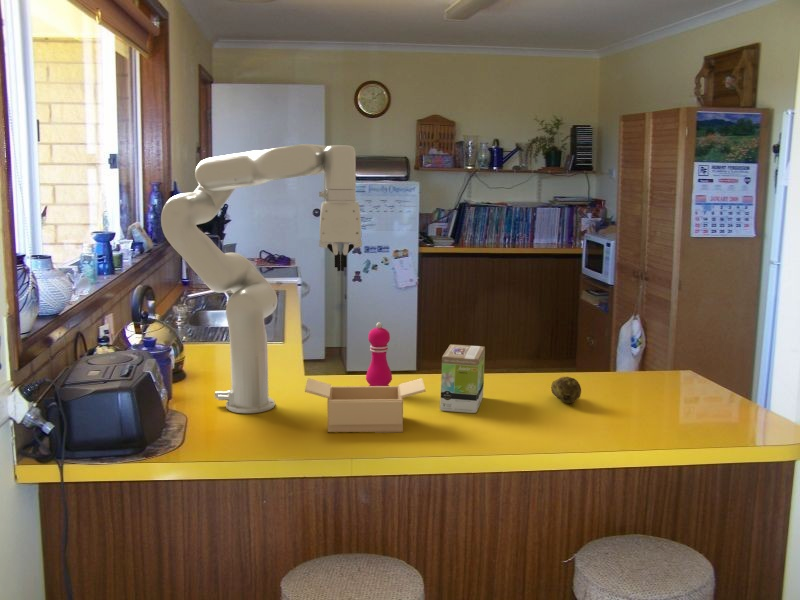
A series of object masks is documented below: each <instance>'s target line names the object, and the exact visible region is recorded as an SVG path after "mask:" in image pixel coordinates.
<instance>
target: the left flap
mask: <svg viewBox="0 0 800 600" xmlns="http://www.w3.org/2000/svg"><path fill="white" fill-rule="evenodd" d="M331 387H332V384H330V383H327V382H323V381H321V380H320V381H319V380H316V379H313V378H309V377H307V380H306V384H305V389H304V392H305V393H308V394H311V395H315V396H318V397H322V398H325V399H327V400H328V399H329V397H330V389H331Z"/></svg>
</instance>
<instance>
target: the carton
mask: <svg viewBox="0 0 800 600" xmlns="http://www.w3.org/2000/svg"><path fill="white" fill-rule="evenodd" d="M326 403H327V407H326V409H327V433H328V432H375V433H403V432H404V398H401V393H400V387H399V385H389V386H369V385H365V386H362V385H360V386H359V385H357V386H356V385H355V386H353V385H352V386H351V385H350V386H348V385H347V386H346V385H345V386H331V389H330V397H329V399H328V398H327V402H326Z"/></svg>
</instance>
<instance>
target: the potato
mask: <svg viewBox="0 0 800 600" xmlns="http://www.w3.org/2000/svg"><path fill="white" fill-rule="evenodd" d="M550 388H551V393H552V394H553V396H555V397H556V398H557V399H558V400H560V401H561V402H564V403H565V404H566V403H567V404H573V403H575V402H576V401H578V399H580V398H581V394H582V387H581V385H580V383H579V381H578V380H577V379H576V378H574V377H570V376H561V377H559V378H557V379H555V380H553V381H552V382H551V387H550Z"/></svg>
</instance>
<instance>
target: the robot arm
mask: <svg viewBox="0 0 800 600" xmlns="http://www.w3.org/2000/svg"><path fill="white" fill-rule="evenodd" d="M356 161H357V160H356V149H355V147H354V146H352V145H345V144H344V145H342V144H335V145H333V144H332V145H322V144H315V143H314V144H312V143H300V144H293V145H288V146H280V147H275V148H274V147H273V148H269V149H262V150H260V149H254V150H250V151H249V150H248V151H243V152H237V153H236V152H235V153H230V154H225V155H218V156H212V157H211V156H210V157H207V158H205V159H202V160H200V161H199V163H198V164H197V166H196V167H195V171H194V177H195V180H196V182H197V184H198V186H197V187H196V188H195V190H194V191H191V192H190V191H189V192H183V193H178V194H176V195H173V196H172V197H170V198H169V199H168V200H167V201H166V202H165V203H164V205H163V208H162V210H161V215H160V224H161V225H160V226H161V229H162V233H163V235H164V238H166V240H167V242H168V243H169V244H170V245H171V246H172V248H173V249H174V250H175V251H176V252H177V253H178V255H179V256H181V258H182V259H183V260H184V261H185V262H186V263H187V264H188V266H189V267H190V268H191V269H192V270H193V271H194V273H195V274H196V275H197V276H198V277H199V278H200V279H201V281H202V282H203V283H204V284H205V285H206V286H207V287H208V288H209V289H210V290H211V291H213V292H214V293H217V294H218V293H219V294H220V293H226V292H229V291H231V293H232V294H231V295H230V297H229V298H228V300H227V302H226V305H225V313H226V314H225V315H226V320H227V321H226V322H227V325H228V332H229V333H228V335H229V349H230V352H229V353H230V381H231V388H230V390H226V391H223V390H219V391H217V390H216V391H215V392H214V398H215V399H217V400H218V401H226V403H225V408H226V409H227V410H228V411H229V412H233V413H236V414H257V413H258V414H259V413H264V412H267V411H271V410H272V409H273V408H275V405H276V404H275V399H273V398H272V397H269V361H268V359H269V356H268V336H267V331H266V330H267V329H266V326H265V325H266V324H265V319H266V318H267V317H269V316H271V315H272V314H273V313H274V312H275V310H276V309H277V306H278V295H277V292H276V291H275V289H274V287H273V286H272V285H271V283H270V282H269V281H268V280H267V279H266V278H265V277H264V276H263V275H262V273H261V272H260V271H259V270H258V269H257V267H255V266H254V264H253V263H252V262H251V261H250V260H249V259H248V258H246V257H245V256H244V255H242V254H240V253H237V252H226V253H224V252H223V251H222V250H221V249H220V248H219V246H217V245H216V244H215V243H214V241H213V240H212V239H211V238H210V237H209V236H208V235H207V234H205V232H203V231H202V230H200V228H199V227H198V226H197V225H202V224H206V223H208V222H210V221H212V220H213V219H214V218H215V217H216V216H217V214H218V213H219V212H220V210H221V209H222V208H223V206H225V204H226V202H227V201H228V200H229V198H230V197H231V195H232V194H233V193H234V192H235V189H240V188H246V187H255V186H259V185H260V186H261V185H264V184H266V183H268V182H272V181H277V180H283V179H284V180H285V179H291V178H292V179H293V178H298V177H299V178H301V177H306V176H315V175H316V176H317V175H322V174H324V189H323V190H321V191H318V198H323V199H324V201H322V202H321V207H320V211H319V212H320V214H319V241H318V246H319V247H321V248H324V249H328V250H329V251H330V252H331V253H332V254H333V255H334V268H337V271H336V272H344V271H345V268H347V267H348V264H347V263H348V262H347V261H348V258H347V256H348V254H349V253H351V251H352V250H353V249H358V248H360V247H362V246H363V242H362V219H361V209H360V202H359V201H356V196H357V195H356V192H357V191H356V187H357V185H356V182H357V181H356V178H357V177H356V168H357V166H356V164H357V163H356ZM338 244H343V249H342V251H339V246H338ZM340 253H341V254H340Z"/></svg>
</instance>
